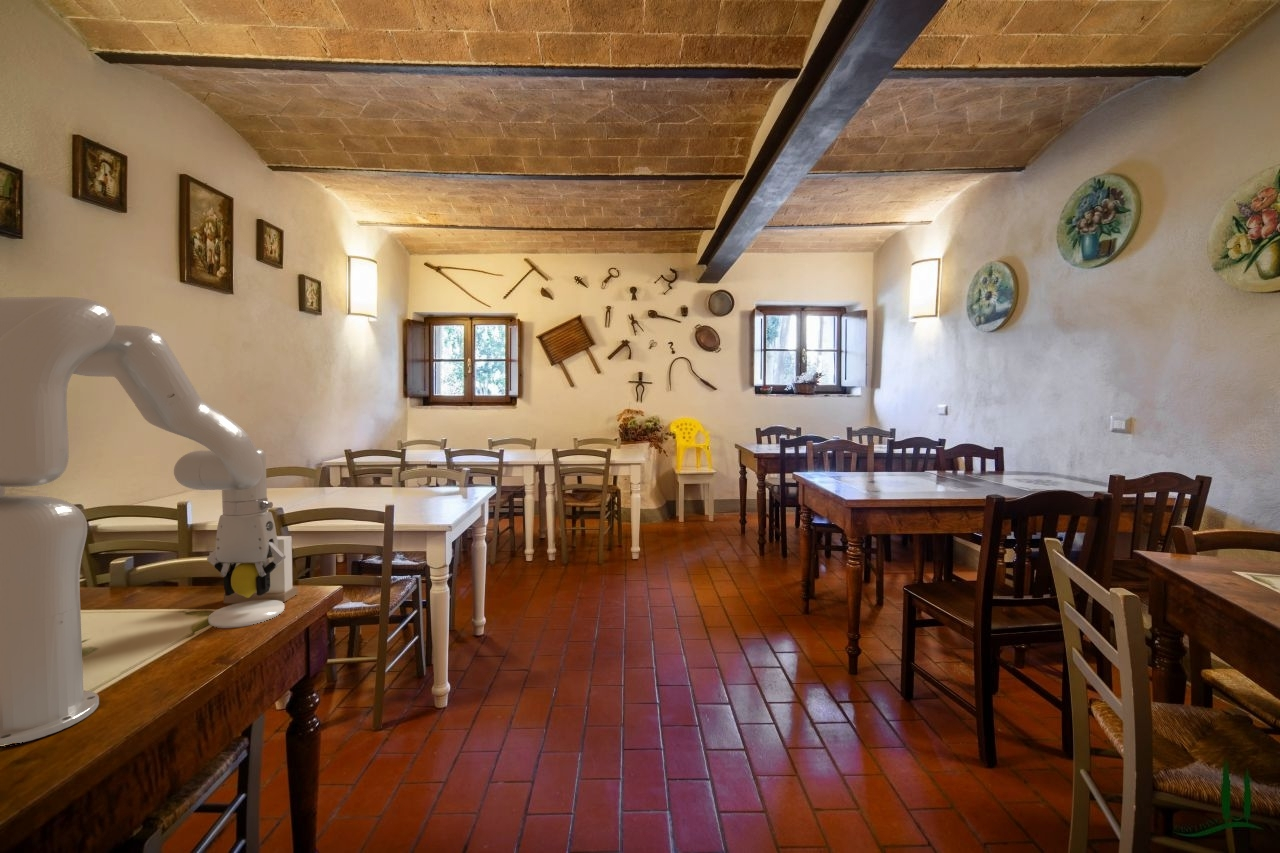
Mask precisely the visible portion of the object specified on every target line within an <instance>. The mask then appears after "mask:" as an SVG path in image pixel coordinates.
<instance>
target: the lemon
mask: <svg viewBox="0 0 1280 853" xmlns="http://www.w3.org/2000/svg"><path fill="white" fill-rule="evenodd" d="M258 576H259V573H258V571H257V568H256V566H255V563H240V564H239V565H238V566H236V567H235V569H234V570H233V573H232V576H231V586H232V589H233V590H234V592H235V593H237V594H239V595H242V596H244V597H246V598H249V597H250V596H251V595H252V594H254V593H255V592H257V590H256V578H257V577H258Z"/></svg>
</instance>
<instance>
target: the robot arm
mask: <svg viewBox="0 0 1280 853" xmlns="http://www.w3.org/2000/svg"><path fill="white" fill-rule="evenodd" d="M114 316H115V315H113V313H112V311H111V309H109V308H108V307H107V306H105V305H104V304H102V303H100V302H98V301H95V300H92V299H88V298H83V297H74V296H34V297H33V296H30V297H29V296H10V297H9V296H8V297H0V745H4V744H12V743H20V744H23V743H26V742H32V741H34V740H37V739H41V738H44V737H47V736H49V735H53V734H55V733H57V732H60V731H62V730H65V729H67V728H69V727H71V726H74V725H76V724H77V723H79V722H81V721H83V720H84V719H86V718H88V717H89V716H90V715H92V713H94V712H95V711H96V710H97V708H98V707H99V705H100V696H99V695H98V693H96V692H95V691H94V692H93V691H90V690H84V672H83V671H84V670H83V668H84V666H83V643H82V642H83V640H82V639H83V638H82V616H81V613H82V612H81V592H80V575H81V564H82V558H83V553H84V549H85V546H86V545H85V544H86V541H87V535H88V522H87V519H86V516H85V514H84V512H82V510H81V509H80V508H79V507H78V506H76V505H74V504H73V503H71V502H69V501H67V500H64V499H61V498H57V497H51V496H41V495H13V494H12V495H6V488H14V487H15V488H23V487H24V488H25V487H37V486H42V485H46V484H50V483H53V482H54V481H56V480H58V479H59V478H60V477H61V476H62V475H63V474H64V473H65V471H66V469H67V467H68V464H69V459H70V458H69V457H70V449H69V448H70V447H69V429H68V428H69V426H68V406H67V401H68V400H67V399H68V398H67V397H68V396H67V395H68V386H69V382H70V380H71V378H72V375H78V376H85V377H96V378H97V377H107V378H108V377H110V378H111V377H114V378H115V379H116V380H117V382H118V383H119V385H121V387H122V388H123V389H124V391H125V393H126V394H127V395H128V397H129V398H130V399H131V401H132V402H133V404H134V405H135V407H136V409H137V410H138V412H139V413H140V414H141V416H142V417H143V419H144V420H145V421H146V422H147V423H149V424H150V425H152V426H155V427H157V428H159V429H162V430H164V431H166V432H169V433H172V434H175V435H177V436H181V437H184V438H186V439H189V440H191V441H194V442H196V443H199V444H200V445H202V446H204V447H205V448H206V449H207V450H195V451H190V452H188V453H186V454H184V455H182V456H181V457H179V459H178V460H177V461H176V462H175V465H174V468H173V476H174V477H175V480H176V481H177V482H178V483H179V484H180V485H182V486H183V487H185V488H188V489H192V490H201V491H203V490H209V491H210V490H211V491H214V490H215V491H217V490H219V491H220V490H221V496H222V497H221V500H222V501H221V502H222V503H221V504H222V508H221V509H222V514H221V515H220V516H219V518H218V523H217V529H216V537H215V549H213V551H211V553H210V554H209V555H208V556H207V557H206V560H207V562H208V563H210V564H211V565H212V566H214V568H215V569H216V570H217V571H218V572H219V573H220V576H221V577H223V588H224V589H223V590H224V594H225V596H229V595H231V594H233V593H235V592H234V590H233V589H232V586H231V576H232V573H233V570H234V569H235V567H236V566H237V564H238V563H255V566H256V568H257V571H258V573H259V576H258V577H257V578H256V590H257V595H258V596H261V595H263V594H264V593H266V592H268V591H269V588H270V573H271V572H272V571H273V570H274V569H275V568H276V567H277V566H278V564H280V563H281V562H282V561H283V560H284V559H285V558H286V556H285V555H284V554H283V553H282V552H281V551H280V550H279V549H278V544H277V536H278V535H277V529H276V523H275V520H274V515H273V513H272V512H271V511H268V510H269V509H272V508H273V505H274V503H273V502H272V501H268V500H269V499H268V498H269V497H268V496H267V494H268V492H267V491H268V490H267V485H268V484H267V456H266V452H265V451H264V450H263V449H262V448H259V447H256V446H255V444H254V442H253V441H252V439H251V437H250V436H249V434H248V433H247V432H246V431H245V429H243V428H242V426H240V425H239V424H238V423H237V422H235V421H234V420H233V419H231V418H230V417H228V416H227V415H226V414H224V413H223V412H221V411H220V410H219V409H217V408H216V407H214V406H212V405H211V404H209V403H208V402H206V401H204V399H202V398H201V396H200V394H199V393H198V392H197V390H196V388H195V387H194V385H193V383H192V382H191V380H190V379H189V377H188V375H187V374H186V372H185V371H184V370H185V369H183V367H182V365H181V363H180V362H179V360H178V358H177V357H176V356H175V354H174V352H173V350H172V348H171V347H170V346H169V344H168V342H167V341H166V339H165V338H164V337H163V336H162V335H161V333H159V332H158V331H156V330H154V329H152V328H149V327H144V326H139V325H126V324H125V325H123V324H117V325H116V321H115V320H116V319H115V317H114ZM271 557H274V560H273V561H272V562H271V563H270V561H269V558H271ZM22 742H23V743H22Z"/></svg>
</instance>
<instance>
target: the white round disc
mask: <svg viewBox="0 0 1280 853" xmlns="http://www.w3.org/2000/svg"><path fill="white" fill-rule="evenodd" d="M285 607H286V606H285V603H283V602H282V601H278V600H253V601H246V602H241V603H232V604H228V605H227V606H223V607H221V608H218V609H216V610H214V611H213V612H211V613H210V614H209V615H208V618H207V620H208V623H209V624H210V625H211V626H210V625H209V624H208V623H207V624H208V625H209V626H210V627H212V626H214V627H213V628H216V627H217V629H235V628H242V627H249V626H254V625H258V624H261V623H260V622H262V623H265V622H267V621H266V620H268V621H270V620H269V619H271V620H273V619H275V618H277V617H279V616H280V615H279V614H281V613H282V612H283V611H284V612H285V610H284V609H285ZM284 612H283V613H284ZM283 613H282V614H283ZM282 614H281V615H282ZM278 615H279V616H278ZM276 616H277V617H276ZM274 617H275V618H274ZM272 618H273V619H272ZM264 621H265V622H264ZM257 623H258V624H257ZM253 624H254V625H253Z"/></svg>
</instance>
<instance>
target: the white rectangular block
mask: <svg viewBox="0 0 1280 853" xmlns="http://www.w3.org/2000/svg"><path fill="white" fill-rule="evenodd" d="M292 540H293V539H292V536H291V535H289V536H288V535H287V536H286V535H277V544H278V549H279V550H280V551H281V552H282V553H283V554H284V555H285V556H286V558H285V559H284V560H283V561H282V562H281V563H280V564H278V566H277V567H276V568H275V569H274V570H273V571H272V572H271V573H270V588H269V591H268V592H266V593H264V594H263V595H261V596H258V595H257V592H255V593H254V594H252V595H251V596H250V597H249V598H246V597H244V596H242V595H239V594H237V593H233V594H231V595H229V596H225V593H224V594H223V604H237V603H241V602H246V601H253V600H278V601H282V602H285V601H286V600H288V599H289V598H291V597H293V596H295V595H297V596H298V586H293V552H292V551H293V547H292V546H293V544H292V543H293V542H292ZM273 560H274V557H271V558H269V561H270V563H271V562H272V561H273ZM239 564H240V563H238V564H237V566H238V565H239ZM295 597H296V596H295ZM285 603H286V602H285Z"/></svg>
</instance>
